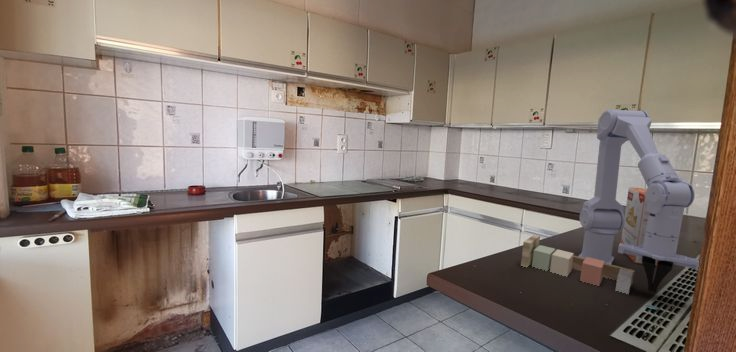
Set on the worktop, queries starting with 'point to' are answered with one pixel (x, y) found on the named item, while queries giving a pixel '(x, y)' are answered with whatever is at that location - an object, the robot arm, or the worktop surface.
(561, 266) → the cream rectangular block
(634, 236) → the cracker box
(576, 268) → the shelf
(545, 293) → the worktop surface
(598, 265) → the pink rectangular block
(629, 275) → the grey rectangular block
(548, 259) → the pale green block
